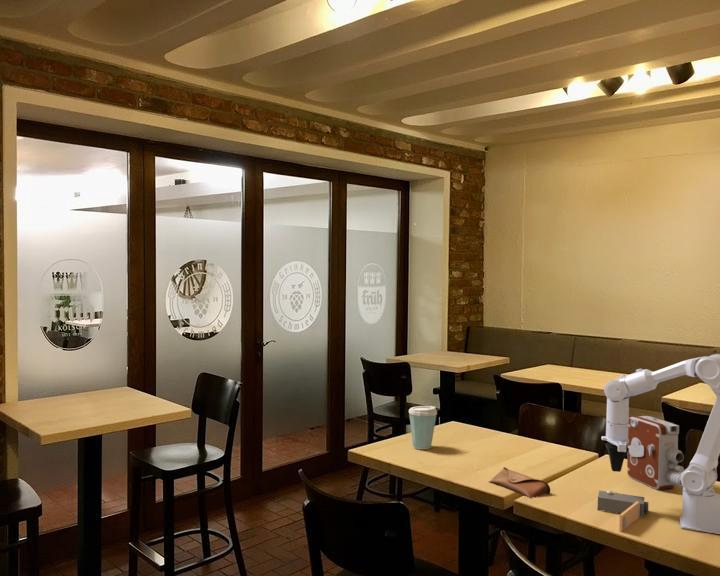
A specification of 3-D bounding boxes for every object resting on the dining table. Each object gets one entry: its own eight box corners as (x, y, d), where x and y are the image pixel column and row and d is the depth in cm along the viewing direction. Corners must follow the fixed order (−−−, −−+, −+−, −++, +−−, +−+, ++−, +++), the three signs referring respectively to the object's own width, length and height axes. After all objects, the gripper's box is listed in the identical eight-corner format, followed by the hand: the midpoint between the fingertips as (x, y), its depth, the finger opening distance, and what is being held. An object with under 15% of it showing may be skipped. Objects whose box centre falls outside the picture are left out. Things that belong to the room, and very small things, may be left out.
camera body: (648, 510, 169) (648, 495, 169) (648, 518, 163) (648, 502, 163) (599, 502, 174) (599, 488, 174) (597, 510, 169) (597, 495, 169)
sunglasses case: (485, 481, 191) (493, 461, 193) (498, 489, 195) (506, 469, 196) (531, 499, 176) (540, 477, 178) (545, 507, 180) (553, 485, 182)
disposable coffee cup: (404, 449, 225) (405, 408, 225) (411, 442, 235) (411, 402, 235) (433, 452, 222) (434, 410, 222) (438, 445, 232) (439, 405, 232)
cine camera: (668, 497, 179) (669, 428, 179) (622, 476, 198) (624, 414, 197) (694, 495, 181) (695, 427, 181) (647, 474, 200) (648, 413, 200)
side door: (636, 515, 165) (636, 500, 164) (641, 516, 164) (642, 501, 164) (618, 530, 154) (619, 514, 154) (624, 532, 154) (624, 516, 154)
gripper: (597, 415, 180) (596, 462, 181) (607, 427, 166) (605, 477, 167) (623, 417, 179) (622, 463, 179) (635, 429, 165) (633, 479, 165)
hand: (616, 470), depth 173 cm, fingers closed
